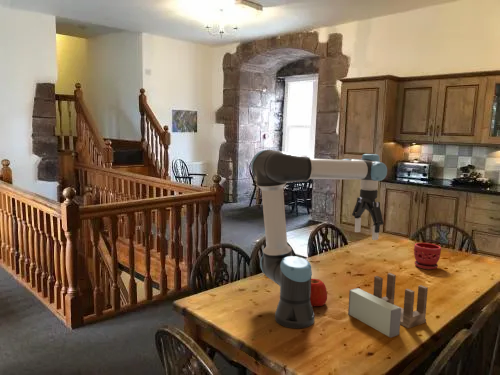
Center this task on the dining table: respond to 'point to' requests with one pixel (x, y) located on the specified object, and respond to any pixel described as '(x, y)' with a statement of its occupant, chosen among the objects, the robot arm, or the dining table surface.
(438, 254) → the plant pot
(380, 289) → the u-shaped post stand
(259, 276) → the dining table surface
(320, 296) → the apple
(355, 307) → the cream rectangular block
